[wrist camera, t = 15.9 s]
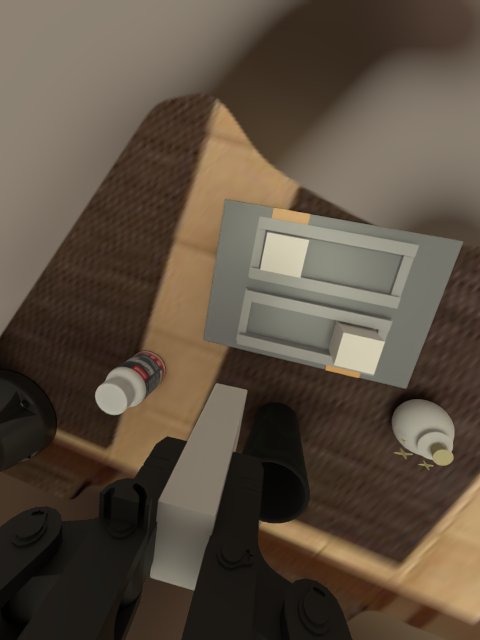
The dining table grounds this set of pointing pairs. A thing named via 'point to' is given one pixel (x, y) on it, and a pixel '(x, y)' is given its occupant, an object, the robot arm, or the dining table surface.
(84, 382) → the dining table surface
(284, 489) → the cup
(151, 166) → the dining table surface
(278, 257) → the tab
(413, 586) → the dining table surface
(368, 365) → the tab
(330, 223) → the switch board
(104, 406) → the pill bottle
